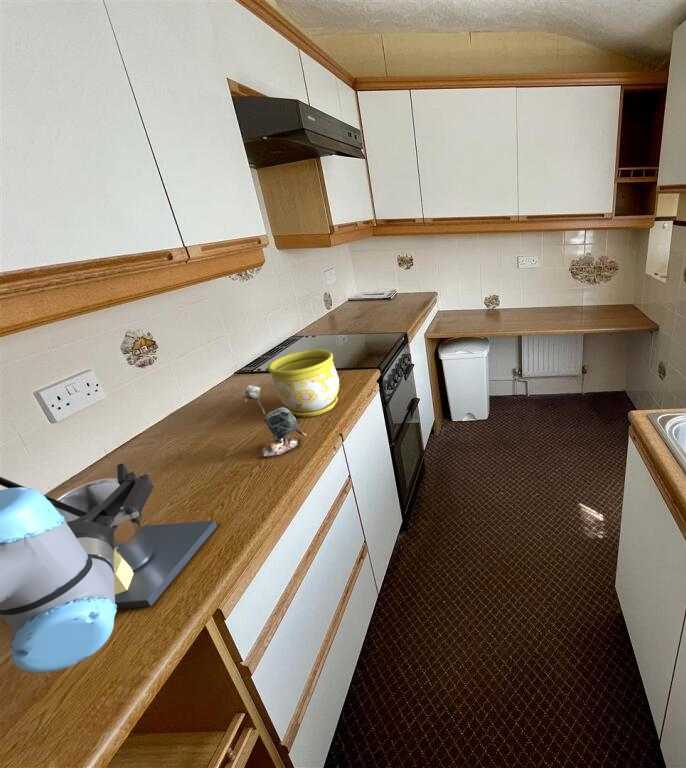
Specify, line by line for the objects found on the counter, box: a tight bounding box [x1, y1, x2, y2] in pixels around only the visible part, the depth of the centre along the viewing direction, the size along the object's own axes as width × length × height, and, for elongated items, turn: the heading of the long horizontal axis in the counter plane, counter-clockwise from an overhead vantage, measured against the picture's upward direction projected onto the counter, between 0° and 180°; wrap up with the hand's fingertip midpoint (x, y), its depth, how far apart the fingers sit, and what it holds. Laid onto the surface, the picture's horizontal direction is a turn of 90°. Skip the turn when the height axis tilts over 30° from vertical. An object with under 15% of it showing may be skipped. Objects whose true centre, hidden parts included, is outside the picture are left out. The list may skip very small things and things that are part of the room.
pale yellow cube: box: [114, 559, 134, 595], centre depth 69 cm, size 4×4×4 cm
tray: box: [115, 519, 218, 610], centre depth 75 cm, size 16×18×2 cm
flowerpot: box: [267, 349, 340, 418], centre depth 126 cm, size 18×18×16 cm
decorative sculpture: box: [244, 384, 308, 457], centre depth 105 cm, size 8×11×20 cm
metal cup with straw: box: [0, 476, 153, 571], centre depth 66 cm, size 11×11×30 cm
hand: (81, 484), depth 68 cm, fingers closed on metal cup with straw, 10 cm apart
